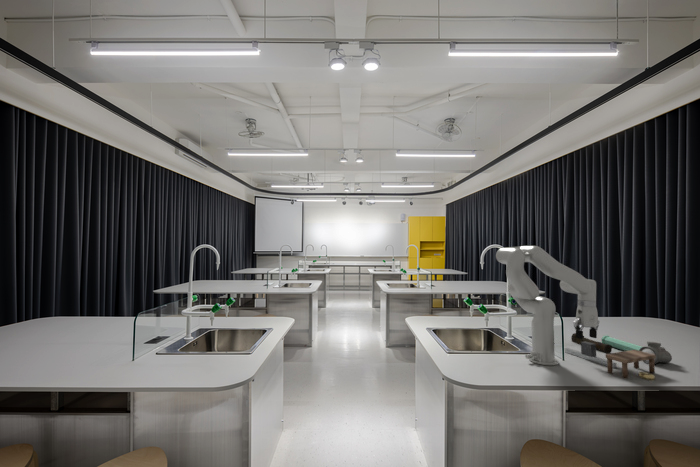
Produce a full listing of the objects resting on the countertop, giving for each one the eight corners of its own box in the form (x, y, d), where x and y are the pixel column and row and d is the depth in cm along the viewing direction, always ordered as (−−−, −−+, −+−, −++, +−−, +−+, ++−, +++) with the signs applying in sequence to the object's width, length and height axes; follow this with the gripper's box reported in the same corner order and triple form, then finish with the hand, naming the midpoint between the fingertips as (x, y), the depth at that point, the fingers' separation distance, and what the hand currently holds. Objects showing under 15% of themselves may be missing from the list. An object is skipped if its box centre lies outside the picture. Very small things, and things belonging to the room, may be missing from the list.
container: (655, 347, 163) (607, 333, 188) (646, 352, 162) (599, 337, 187) (659, 357, 163) (611, 342, 188) (650, 363, 162) (603, 347, 187)
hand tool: (613, 353, 172) (612, 342, 173) (605, 354, 172) (604, 343, 172) (576, 341, 195) (576, 332, 195) (569, 341, 194) (569, 332, 194)
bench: (626, 379, 139) (625, 360, 139) (606, 372, 146) (605, 354, 147) (656, 373, 145) (655, 354, 145) (635, 366, 153) (634, 349, 153)
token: (644, 380, 138) (643, 375, 138) (636, 375, 143) (636, 371, 143) (657, 381, 137) (657, 377, 137) (649, 376, 142) (649, 372, 142)
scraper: (612, 368, 151) (611, 350, 152) (563, 353, 174) (563, 337, 174) (617, 368, 152) (616, 349, 153) (568, 352, 175) (568, 336, 175)
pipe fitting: (655, 365, 153) (655, 343, 154) (638, 361, 160) (637, 340, 162) (676, 367, 154) (675, 345, 156) (658, 362, 162) (657, 341, 164)
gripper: (581, 305, 158) (581, 340, 157) (606, 304, 164) (605, 339, 163) (567, 302, 165) (566, 336, 164) (591, 302, 171) (590, 335, 170)
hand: (586, 337), depth 163 cm, fingers open, 9 cm apart
